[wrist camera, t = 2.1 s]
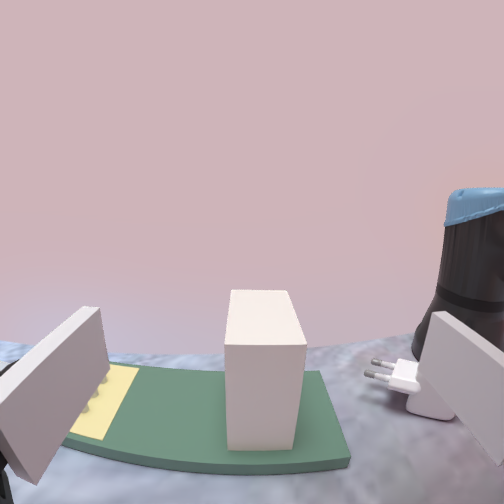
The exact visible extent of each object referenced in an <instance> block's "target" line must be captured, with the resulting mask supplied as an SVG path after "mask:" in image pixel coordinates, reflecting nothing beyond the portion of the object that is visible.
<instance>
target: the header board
mask: <svg viewBox="0 0 504 504" xmlns="http://www.w3.org/2000/svg"><path fill="white" fill-rule="evenodd" d="M109 364H110V370H109V372H108V373H107V374H106V376H105V377H104V379H103V380H102V382H101V383H100V385H99V386H98V388H97V389H96V391H95V392H94V394H93V395H92V397H91V398H90V400H89V401H88V403H87V405H86V406H85V408H84V409H83V411H82V412H81V414H80V415H79V417H78V418H77V420H76V422H75V423H74V425H73V426H72V428H71V429H70V431H69V433H68V434H67V436H66V437H65V439H64V441H63V442H62V444H61V445H63V446H66V447H69V448H72V449H76V450H79V451H82V452H86V453H90V454H93V455H97V456H101V457H105V458H109V459H113V460H118V461H122V462H127V463H132V464H137V465H143V466H149V467H155V468H161V469H169V470H176V471H185V472H196V473H209V474H228V475H273V474H292V473H305V472H315V471H324V470H332V469H339V468H346V467H347V466H348V464H349V461H350V459H351V455H350V452H349V449H348V446H347V444H346V441H345V438H344V435H343V433H342V430H341V427H340V425H339V422H338V419H337V416H336V414H335V411H334V408H333V406H332V403H331V400H330V398H329V395H328V392H327V390H326V387H325V384H324V382H323V379H322V376H321V374H320V371H304V375H303V382H302V390H301V397H300V404H299V410H298V417H297V423H296V429H295V435H294V441H293V447H292V450H270V451H234V450H228V448H227V423H226V391H225V372H222V371H200V370H184V369H171V368H160V367H150V366H141V365H132V364H124V363H117V362H110V361H109Z"/></svg>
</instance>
